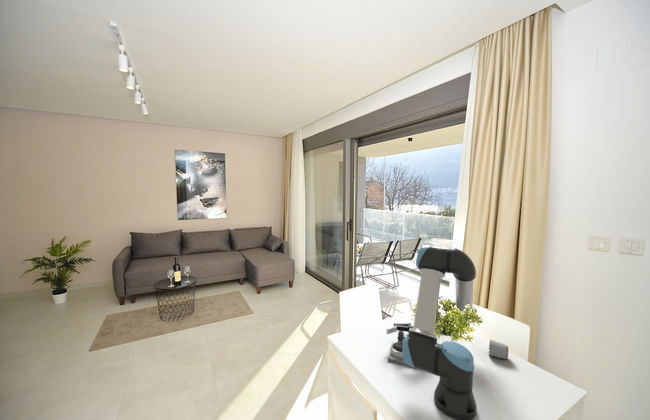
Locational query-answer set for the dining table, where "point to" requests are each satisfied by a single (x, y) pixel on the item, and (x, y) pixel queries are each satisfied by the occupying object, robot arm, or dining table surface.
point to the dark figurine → (399, 341)
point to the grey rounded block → (498, 349)
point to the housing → (396, 355)
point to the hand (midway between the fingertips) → (395, 337)
